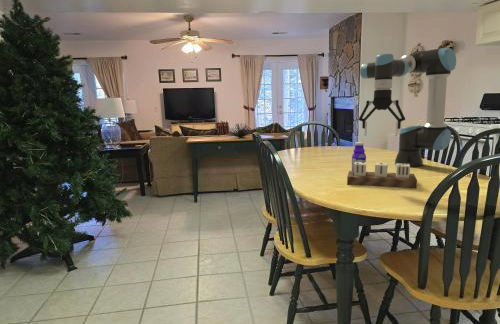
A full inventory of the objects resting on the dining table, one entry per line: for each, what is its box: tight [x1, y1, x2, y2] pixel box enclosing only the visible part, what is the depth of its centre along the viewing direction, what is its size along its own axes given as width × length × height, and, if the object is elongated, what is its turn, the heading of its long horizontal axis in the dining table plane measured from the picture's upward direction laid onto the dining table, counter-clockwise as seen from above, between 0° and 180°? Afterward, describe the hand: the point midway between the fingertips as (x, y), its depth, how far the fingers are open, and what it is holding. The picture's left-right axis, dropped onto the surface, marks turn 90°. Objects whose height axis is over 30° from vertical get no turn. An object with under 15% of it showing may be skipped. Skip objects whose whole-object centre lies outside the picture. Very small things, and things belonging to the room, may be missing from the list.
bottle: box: [351, 141, 367, 171], centre depth 176 cm, size 7×6×17 cm
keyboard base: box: [346, 170, 418, 190], centre depth 158 cm, size 30×13×4 cm, turn 70°
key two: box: [354, 161, 367, 176], centre depth 161 cm, size 5×6×6 cm
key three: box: [395, 163, 411, 178], centre depth 154 cm, size 5×6×6 cm
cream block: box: [374, 162, 389, 177], centre depth 157 cm, size 5×6×6 cm
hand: (380, 135), depth 155 cm, fingers open, 13 cm apart
